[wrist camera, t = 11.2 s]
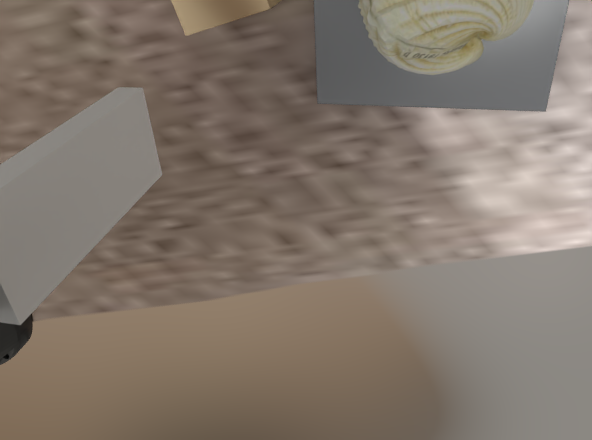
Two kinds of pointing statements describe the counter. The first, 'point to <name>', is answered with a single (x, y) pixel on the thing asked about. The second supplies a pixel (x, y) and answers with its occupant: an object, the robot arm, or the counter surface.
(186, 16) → the oak block
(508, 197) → the counter surface
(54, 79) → the counter surface
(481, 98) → the plate
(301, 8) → the counter surface
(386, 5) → the seashell
